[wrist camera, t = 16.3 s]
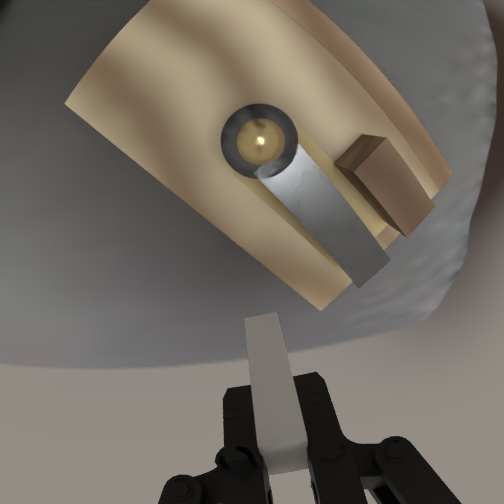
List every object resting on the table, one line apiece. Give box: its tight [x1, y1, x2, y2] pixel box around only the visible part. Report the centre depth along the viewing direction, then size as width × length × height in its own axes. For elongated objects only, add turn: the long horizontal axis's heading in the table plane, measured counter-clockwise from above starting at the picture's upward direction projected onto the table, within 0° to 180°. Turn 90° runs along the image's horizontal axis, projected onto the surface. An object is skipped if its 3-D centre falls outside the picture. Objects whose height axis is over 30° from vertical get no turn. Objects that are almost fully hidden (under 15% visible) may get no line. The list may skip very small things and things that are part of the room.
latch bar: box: [221, 103, 390, 288], centre depth 18 cm, size 13×4×4 cm, turn 43°
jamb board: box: [65, 0, 453, 311], centre depth 17 cm, size 16×25×5 cm, turn 47°
